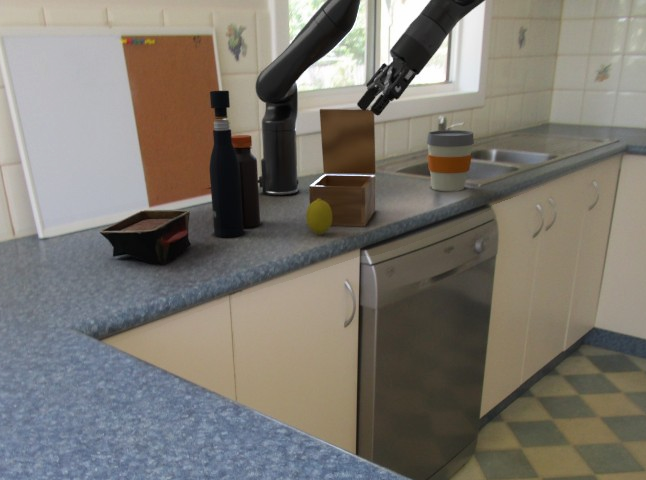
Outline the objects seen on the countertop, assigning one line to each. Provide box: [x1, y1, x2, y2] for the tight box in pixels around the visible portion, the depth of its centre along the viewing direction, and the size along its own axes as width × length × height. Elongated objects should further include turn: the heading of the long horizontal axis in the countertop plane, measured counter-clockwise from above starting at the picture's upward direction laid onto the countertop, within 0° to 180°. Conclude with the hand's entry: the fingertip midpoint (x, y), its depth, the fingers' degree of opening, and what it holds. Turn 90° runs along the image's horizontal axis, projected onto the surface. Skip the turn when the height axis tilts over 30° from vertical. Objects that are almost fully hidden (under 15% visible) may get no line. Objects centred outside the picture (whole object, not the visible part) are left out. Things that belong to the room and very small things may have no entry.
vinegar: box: [231, 134, 261, 229], centre depth 149 cm, size 7×7×20 cm
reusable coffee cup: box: [426, 129, 475, 192], centre depth 183 cm, size 13×13×15 cm
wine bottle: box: [209, 90, 245, 239], centre depth 140 cm, size 6×6×30 cm
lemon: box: [305, 199, 332, 236], centre depth 141 cm, size 6×6×8 cm
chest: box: [308, 173, 376, 227], centre depth 155 cm, size 15×13×9 cm
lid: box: [319, 108, 377, 175], centre depth 158 cm, size 15×13×5 cm
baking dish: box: [99, 209, 192, 266], centre depth 132 cm, size 14×18×10 cm
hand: (366, 110), depth 136 cm, fingers open, 8 cm apart
